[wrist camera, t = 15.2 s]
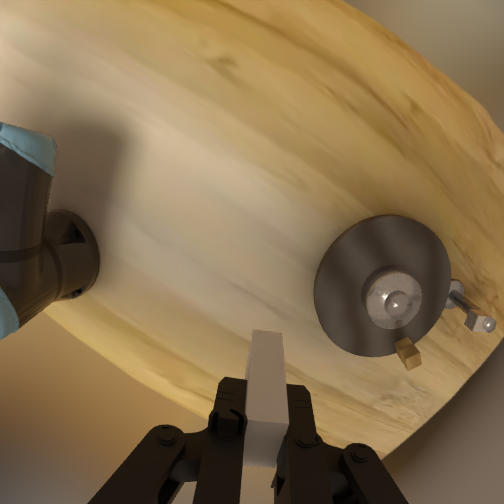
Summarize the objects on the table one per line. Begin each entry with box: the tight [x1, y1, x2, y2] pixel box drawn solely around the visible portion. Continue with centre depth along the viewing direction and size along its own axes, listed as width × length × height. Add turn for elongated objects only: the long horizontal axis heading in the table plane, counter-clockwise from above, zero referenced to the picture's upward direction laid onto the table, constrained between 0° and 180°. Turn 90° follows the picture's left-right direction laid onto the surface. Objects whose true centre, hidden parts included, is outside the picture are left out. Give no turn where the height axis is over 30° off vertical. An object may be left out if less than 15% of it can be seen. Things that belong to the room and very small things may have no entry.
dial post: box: [445, 280, 496, 333], centre depth 41 cm, size 6×5×13 cm
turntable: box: [314, 215, 451, 371], centre depth 42 cm, size 22×22×7 cm
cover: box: [361, 265, 422, 329], centre depth 41 cm, size 8×8×6 cm
